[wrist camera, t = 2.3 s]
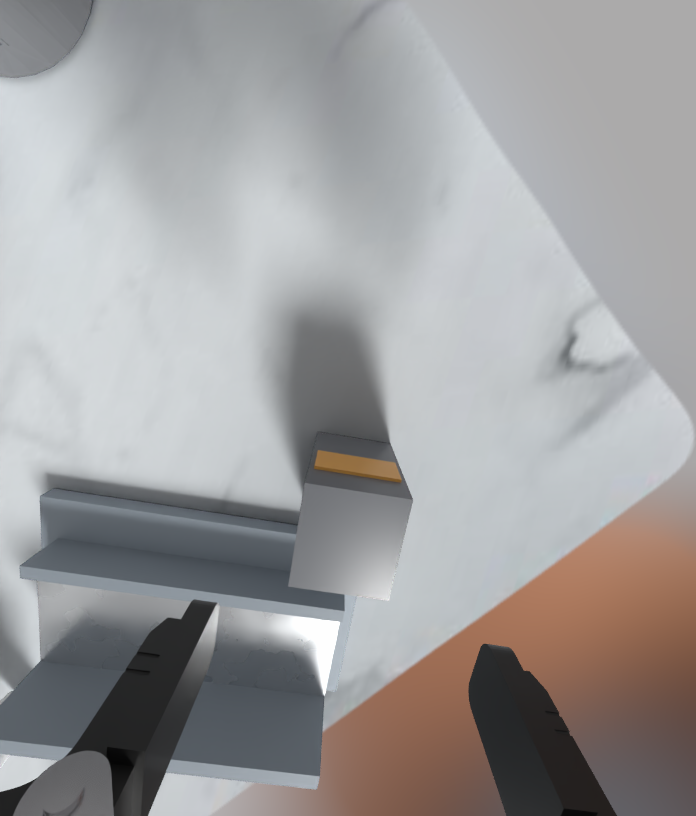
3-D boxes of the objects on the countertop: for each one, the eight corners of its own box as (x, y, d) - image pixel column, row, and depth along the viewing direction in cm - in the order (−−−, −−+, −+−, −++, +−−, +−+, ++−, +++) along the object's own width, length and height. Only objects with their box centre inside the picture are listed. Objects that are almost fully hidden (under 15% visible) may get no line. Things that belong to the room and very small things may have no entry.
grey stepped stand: (53, 488, 21) (-73, 557, 15) (366, 535, 22) (375, 619, 16) (58, 641, 24) (-47, 755, 17) (336, 677, 25) (333, 797, 18)
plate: (58, 549, 21) (36, 565, 19) (342, 589, 22) (342, 608, 20) (60, 639, 22) (40, 660, 21) (325, 673, 23) (324, 696, 22)
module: (318, 429, 20) (305, 479, 13) (390, 441, 20) (413, 496, 14) (305, 504, 21) (287, 586, 15) (374, 515, 22) (388, 601, 15)
